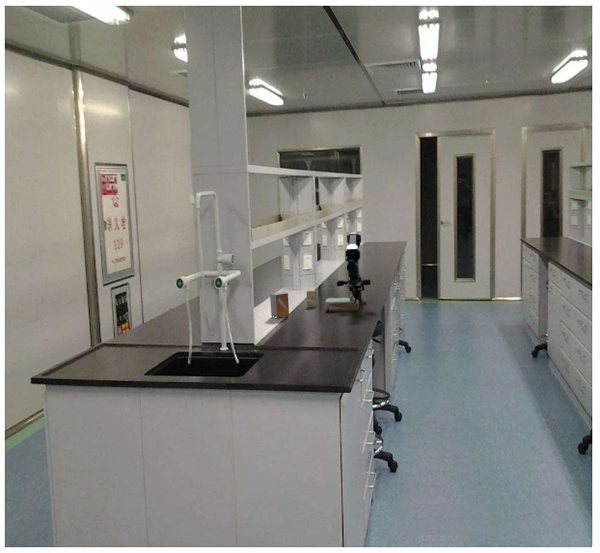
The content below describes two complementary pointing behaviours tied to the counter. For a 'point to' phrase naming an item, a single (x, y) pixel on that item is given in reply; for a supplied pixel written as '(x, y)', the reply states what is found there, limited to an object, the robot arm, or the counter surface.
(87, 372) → the counter surface
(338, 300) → the lid
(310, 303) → the brown wooden block
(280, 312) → the small box
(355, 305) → the open wooden tray
